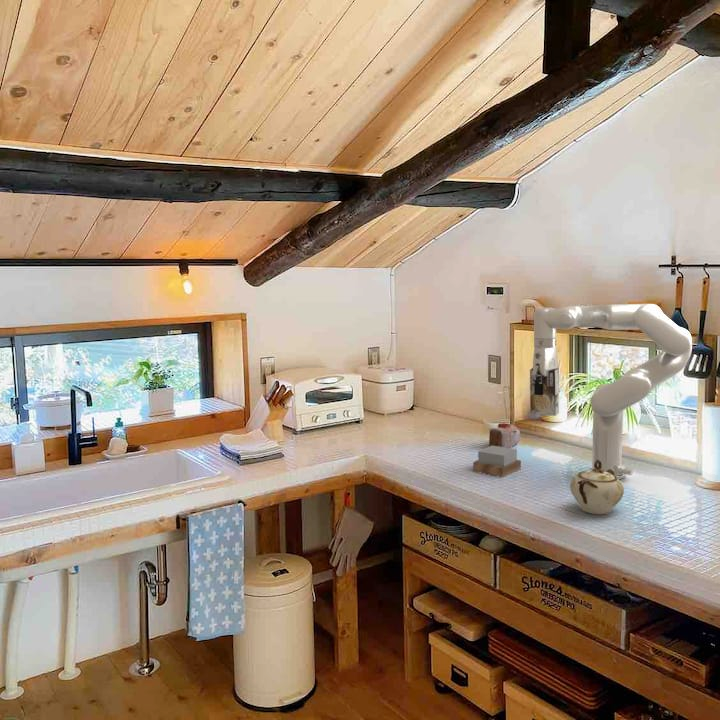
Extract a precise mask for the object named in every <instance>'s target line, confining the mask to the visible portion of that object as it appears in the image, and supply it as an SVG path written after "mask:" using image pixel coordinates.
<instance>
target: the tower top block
mask: <svg viewBox="0 0 720 720" xmlns="http://www.w3.org/2000/svg"><path fill="white" fill-rule="evenodd" d="M517 449H518V448H513V447H512V448H505V447H498V446H490V447H489V446H487V447H486V448H483V449H481V450H478V455H477V456H478V458H477V459H478V463H484V464H490V465H496V466H502V467H505V466H507V465H509V464H511V463H512V462H514V461H516V460H518V450H517Z"/></svg>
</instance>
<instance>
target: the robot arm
mask: <svg viewBox="0 0 720 720" xmlns="http://www.w3.org/2000/svg"><path fill="white" fill-rule="evenodd" d="M573 328H601V329H603V330H608V331H609V330H610V331H621V330H622V331H623V330H624V331H625V330H627V331H630V330H631V331H632V330H633V331H637V330H640V331H641V332H642V333H643V334H644V335H645V336H646V337H647V338H649V339H650V340H652V342H654V343H655V344H656V345H657V346H658V347H659V348H661V351H660V352H659V353H658V354H656V355H655V356H653V357H651V358H650V359H649V360H647V361H645V362H643V363H641V364H639V365H638V366H636V367H634V368H632V369H629V370H628V371H626V372H625V373H624V374H623V376H621V377H619V378H617V379H616V380H614V381H613V382H611V383H603V384H601V385H599V386H598V387H597V388H596V389H595V390H594V392H593V394H592V395H591V398H590V406H591V407H590V408H591V410H592V411H593V414H592V415H593V416H592V448H591V449H592V450H591V451H592V455H591V456H592V460H591V464H592V465H591V466H592V467H590V468H588V469H587V471H588V470H593V469H595V467H594V463H595V461H596V460H599V461H601V464H602V465H601V466H602V468H601V469H600V470H603V471H606V470H608V469H611V470H613V472H614V476H616V477H617V478H618V479H619V480H623V479H624V478H626V477H627V475H628V476H633V474H634V470H633V468H632V467H626V466H625V462H622V458H623V451H622V450H623V421H624V420H623V419H624V411H625V410H626V409H628V408H630V407H633V405H636V404H637V403H639V402H641V401H643V400H644V399H646V398H647V397H648V396H649V394H650V393H651V391H652V390H653V389H654V388H656V387H657V386H659V385H661V384H663V383H665V382H666V381H668V380H670V379H671V378H673V377H674V376H675V375H678V373H680V372H681V371H682V370H683V369H684V368H685V367H686V365H687V364H688V362H689V360H690V358H691V355H692V351H693V350H692V349H693V338H692V335H691V333H690V331H688V329H686V328H684V327H681V326H679V325H677V324H676V323H675V322H674V321H673V320H672V319H670V318H669V317H668V316H667V315H666V314H664V312H663V311H662V309H661V308H660V306H658V304H654V303H628V304H627V303H626V304H624V303H623V304H622V303H620V304H617V303H616V304H603V305H569V306H565V307H560V308H553V307H536V308H535V309H534V312H533V348H534V349H533V358H532V368H533V371H532V373H531V375H532V377H533V380H534V394H535V395H543V384H542V382H543V379H544V377H547V376H549V375H548V373H549V370H552V369H556V368H559V358H558V355H559V354H558V349H557V329H559V330H565V331H567V330H571V329H573ZM538 371H540V373H541V375H537V373H538ZM539 377H541V378H540V379H539ZM598 466H599V464H598V463H597V467H598Z"/></svg>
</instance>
